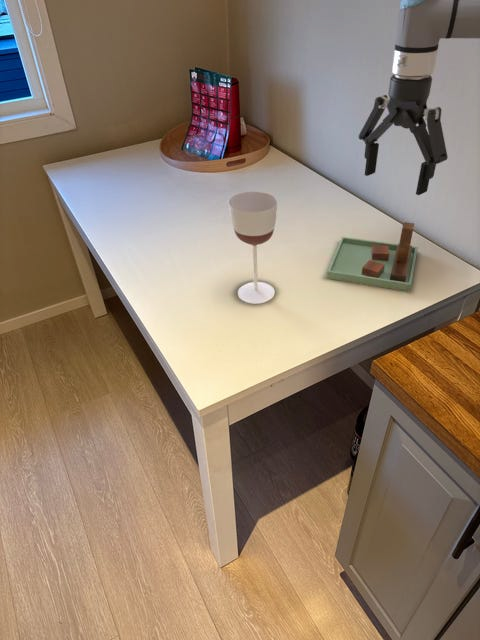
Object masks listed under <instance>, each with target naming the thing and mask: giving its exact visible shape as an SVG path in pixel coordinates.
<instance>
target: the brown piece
mask: <svg viewBox="0 0 480 640" xmlns="http://www.w3.org/2000/svg"><path fill="white" fill-rule="evenodd" d="M414 227H415V223H414V222H407V221H406V222H405V221H404V222H403V223H402V227H401V232H400V238H399V242H398V246H397V250H396V254H395V258H394V262H393V266H392V271H391V275H390V280H394V281H400V282H405V281H406V276H407V271H408V266H409V261H410V256H411V250H412V246H413V245H411V243H412V239H413V233H414Z"/></svg>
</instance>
